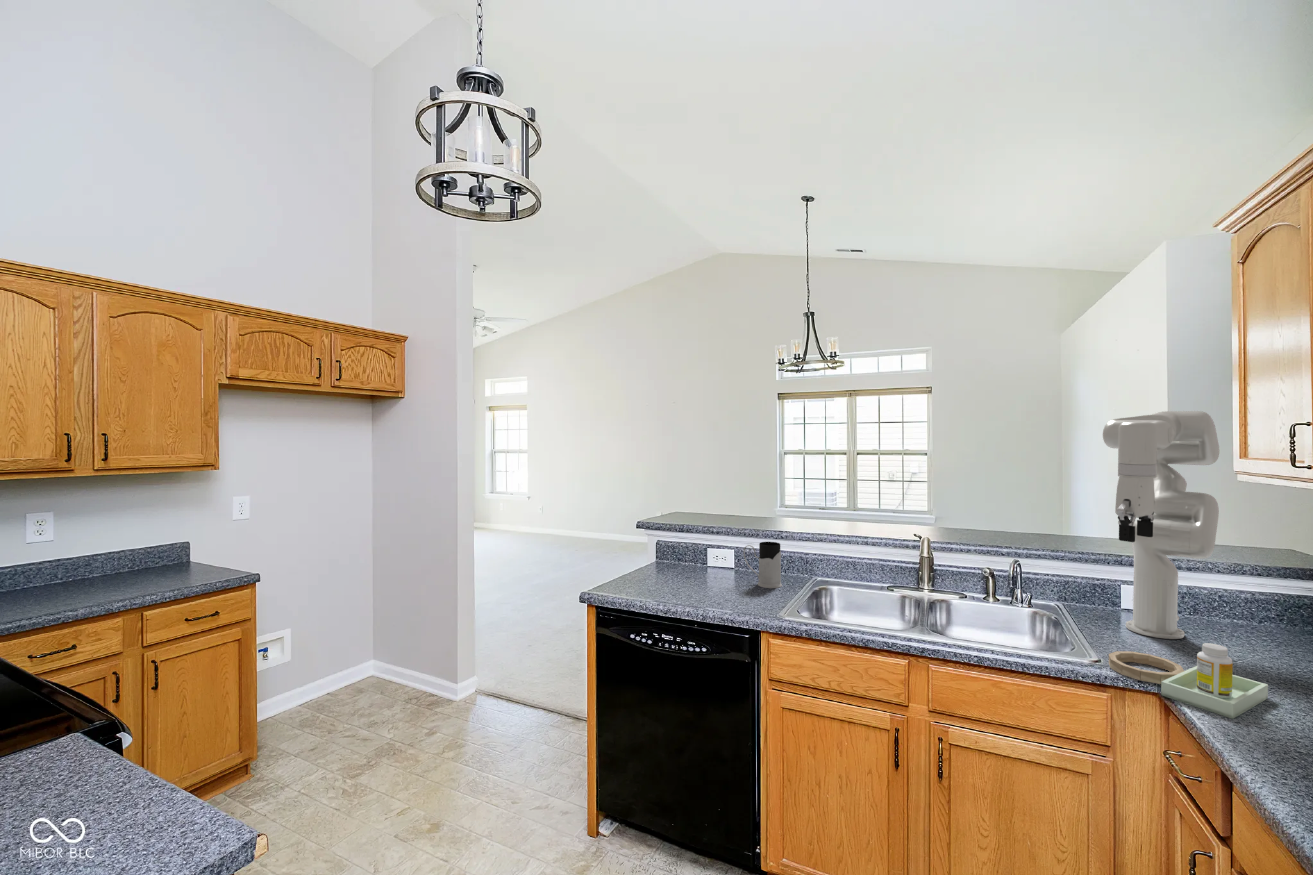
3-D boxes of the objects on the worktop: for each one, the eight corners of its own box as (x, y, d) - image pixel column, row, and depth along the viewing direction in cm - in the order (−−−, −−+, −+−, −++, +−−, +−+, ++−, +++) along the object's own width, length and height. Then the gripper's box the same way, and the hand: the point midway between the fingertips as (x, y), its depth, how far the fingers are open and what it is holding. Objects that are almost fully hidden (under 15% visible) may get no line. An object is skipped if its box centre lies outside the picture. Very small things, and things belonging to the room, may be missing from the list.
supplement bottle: (1231, 693, 127) (1232, 646, 127) (1232, 702, 123) (1233, 653, 123) (1196, 685, 131) (1197, 639, 131) (1196, 693, 127) (1197, 646, 127)
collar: (1125, 656, 149) (1126, 647, 149) (1193, 676, 137) (1194, 666, 137) (1098, 666, 142) (1098, 657, 142) (1166, 688, 131) (1167, 679, 131)
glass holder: (778, 589, 209) (778, 547, 208) (739, 584, 215) (740, 543, 215) (784, 583, 217) (784, 542, 216) (747, 578, 223) (747, 539, 222)
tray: (1197, 677, 136) (1198, 664, 136) (1267, 698, 126) (1268, 684, 126) (1161, 695, 128) (1161, 681, 128) (1232, 718, 118) (1233, 703, 117)
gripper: (1134, 467, 156) (1134, 532, 157) (1102, 472, 147) (1101, 540, 148) (1170, 469, 149) (1169, 537, 150) (1139, 474, 141) (1138, 546, 142)
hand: (1135, 538), depth 149 cm, fingers open, 9 cm apart
